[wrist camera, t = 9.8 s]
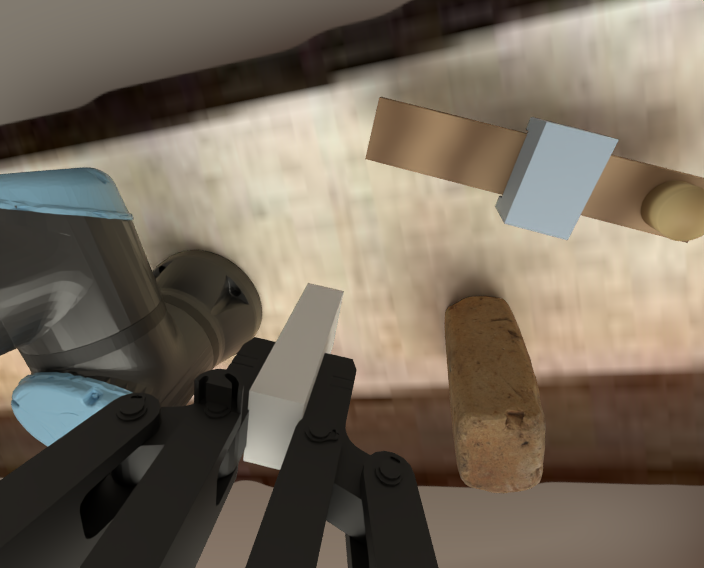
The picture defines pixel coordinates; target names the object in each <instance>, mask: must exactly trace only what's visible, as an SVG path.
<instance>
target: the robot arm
mask: <svg viewBox="0 0 704 568" xmlns="http://www.w3.org/2000/svg"><path fill="white" fill-rule="evenodd" d="M132 220H133V216H132V214H130V213H129V212H128V210H127V208H126V206H125V204H124V202H123V199H122V197H121V195H120V193H119V191H118V189H117V187H116V184H115V183H114V181H113V180H112V179H111V177H110V176H108V175H107V174H106V173H104V172H102V171H100V170H98V169H95V168H71V169H58V170H46V171H33V172H21V173H10V174H0V355H3V354H5V353H7V352H9V351H12V350H14V349H16V348H17V349H18V350H19V352H20V353H21V355H22V357H23V358H24V360H25V362H26V364H27V365H28V367H29V369H30V371H31V375H28V376H26V377H24V378H23V379H21V381H20V382H19V385H18V386H17V387H16V388H15V390H14V391H13V394H12V401H11V405H12V409H13V412H14V414H15V416H16V418H17V419H18V421H19V422H20V423H21V424H22V425H23V427H24V428H25V429H26V430H27V431H28V432H29V433H30V434H31V435H33V436H34V437H35V438H36V439H38V440H39V441H41V442H42V443H43V444H45V445H46V446H48V447H47V448H45V449H44V450H42V451H41V452H40V453H38V454H37V455H35V456H34V457H33V458H31V459H30V460H28V461H27V462H26V463H24V464H23V465H21V466H20V467H18V468H17V469H16V470H14V471H13V472H11V473H10V474H9V475H7V476H6V477H4V478H3V479H2V480H0V568H79V567H80V568H195V567H196V564H197V562H198V560H199V558H200V556H201V553H202V551H203V549H204V547H205V545H206V542H207V540H208V538H209V536H210V534H211V531H212V529H213V527H214V525H215V523H216V520H217V518H218V516H219V514H220V512H221V510H222V507H223V505H224V503H225V501H226V499H227V496H228V494H229V492H230V490H231V488H232V485H233V483H234V481H235V479H236V475H237V471H238V462H239V460H240V458H241V456H242V454H243V452H244V460H243V461H247V462H251V463H255V464H259V465H263V466H267V467H271V468H275V469H279V470H280V472H279V475H278V477H277V480H276V483H275V486H274V489H273V492H272V494H271V497H270V500H269V503H268V506H267V508H266V511H265V514H264V517H263V520H262V522H261V525H260V528H259V531H258V534H257V537H256V539H255V542H254V545H253V548H252V551H251V554H250V556H249V559H248V562H247V565H246V567H245V568H316V566H317V561H318V556H319V551H320V546H321V542H322V537H323V532H324V527H325V522H326V520H327V521H328V522H329V523H331V524H332V525H334V526H336V527H337V528H338V529H340V530H341V531H343V532H345V534H346V535H345V536H346V550H347V562H348V568H438V564H437V560H436V557H435V553H434V549H433V545H432V541H431V537H430V533H429V529H428V525H427V522H426V518H425V514H424V510H423V506H422V502H421V499H420V495H419V491H418V487H417V483H416V479H415V475H414V473H413V470H412V468H411V466H410V465H409V464H408V463H407V461H406V460H405V459H404V458H402V457H401V456H399V455H397V454H395V453H392V452H387V451H381V452H375V453H374V454H372V455H369V454H367V453H365V452H364V451H362V450H360V449H359V448H357V447H356V446H355V445H354V444H353V443H352V442H351V441H350V439H349V438H348V436H347V433H346V430H345V425H346V419H347V414H348V409H349V404H350V399H351V395H352V390H353V385H354V380H355V375H356V367H355V364H354V362H353V359H349V358H345V357H341V356H337V355H332V354H331V351H332V347H333V344H334V339H335V333H336V328H337V323H338V318H339V313H340V308H341V303H342V298H343V293H344V291H341V290H336V289H332V288H327V287H323V286H319V285H314V284H310V283H308V284H307V286H306V288H305V290H304V292H303V293H302V295H301V297H300V299H299V301H298V303H297V304H296V306H295V308H294V310H293V312H292V314H291V315H290V317H289V319H288V321H287V323H286V325H285V326H284V328H283V330H282V332H281V334H280V336H279V337H278V339H277V341H276V342H273V341H269V340H265V339H260V338H256V337H254V336H255V335H256V333H257V331H258V329H259V327H260V324H261V319H262V307H261V302H260V298H259V295H258V293H257V291H256V289H255V287H254V285H253V284H252V282H251V281H250V279H249V278H248V277H247V276H246V274H245V273H244V272H243V271H242V270H241V269H239V268H238V267H237V266H236V265H235V264H233V263H232V262H230V261H229V260H227V259H225V258H223V257H221V256H219V255H217V254H214V253H211V252H207V251H200V250H189V251H183V252H180V253H177V254H175V255H173V256H171V257H170V258H168V259H167V260H165V261H164V262H162V263H161V264H159V265H158V266H157V267H156V268H155V269H154V270H153V272H152V270H151V267H150V265H149V262H148V260H147V257H146V255H145V252H144V250H143V247H142V245H141V242H140V240H139V237H138V234H137V232H136V229H135V227H134V224H133V221H132ZM253 337H254V338H253ZM236 354H237V355H236ZM233 355H236V356H235V357H234V359H233V360H232V363H230V365H229V366H228V368H227V369H215V370H212V369H213V368H214V367H215V366H216V365H218V364H220V363H221V362H223V361H225V360H226V359H228V358H230V357H231V356H233ZM193 395H194V404H192V405H188V406H186V404H187V403H188V402H189V400H190V399H191V398H192V396H193Z"/></svg>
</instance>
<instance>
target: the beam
mask: <svg viewBox="0 0 704 568" xmlns="http://www.w3.org/2000/svg"><path fill="white" fill-rule="evenodd" d="M526 136H527V133H523V132H519V131H515V130H511V129H507V128H503V127H499V126H495V125H491V124H487V123H483V122H479V121H476V120H472V119H468V118H464V117H460V116H456V115H452V114H448V113H444V112H440V111H436V110H432V109H428V108H424V107H420V106H416V105H412V104H408V103H404V102H400V101H396V100H392V99H388V98H384V97H380V98H379V101H378V106H377V110H376V115H375V119H374V123H373V128H372V132H371V136H370V141H369V145H368V150H367V154H366V158H365V159H368V160H371V161H375V162H379V163H383V164H387V165H391V166H394V167H398V168H402V169H406V170H410V171H414V172H417V173H421V174H425V175H429V176H433V177H437V178H440V179H444V180H448V181H452V182H456V183H460V184H463V185H467V186H471V187H475V188H479V189H483V190H486V191H490V192H494V193H498V194H502V195H503V193H504V190H505V188H506V185H507V183H508V180H509V178H510V176H511V173H512V171H513V168H514V166H515V163H516V161H517V158H518V156H519V153H520V151H521V148H522V146H523V143H524V141H525V138H526ZM581 215H582V216H586V217H590V218H594V219H598V220H602V221H605V222H609V223H613V224H617V225H621V226H625V227H628V228H632V229H636V230H640V231H644V232H648V233H651V234H655V235H659V236H663V237H667V238H669V239H672V240H676V241H682V242H686V243H688V241H689V240H693V239H696V238H698V237H701V236H702V235H704V178H702V177H698V176H694V175H690V174H686V173H682V172H678V171H674V170H670V169H667V168H663V167H659V166H655V165H651V164H647V163H643V162H639V161H635V160H631V159H627V158H623V157H619V156H615V155H611V156H610V158H609V160H608V162H607V164H606V166H605V168H604V170H603V172H602V174H601V176H600V178H599V180H598V182H597V183H596V185H595V187H594V189H593V191H592V193H591V195H590V197H589V199H588V201H587V203H586V205H585V207H584V209H583V211H582V213H581Z"/></svg>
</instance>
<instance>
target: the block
mask: <svg viewBox="0 0 704 568" xmlns="http://www.w3.org/2000/svg"><path fill="white" fill-rule="evenodd" d="M445 340H446V354H447V367H448V380H449V392H450V406H451V417H452V428H453V436H454V444H455V452H456V459H457V466H458V470H459V474H460V476H461V479H462V480H463V481H464V483H465V484H467V485H468V486H469V487H473V488H476V489H482V490H486V491H489V492H493V493H507V492H517V491H523V490H527V489H530V488H532V487H534V486H535V485H537V484H538V483H539V482H540V479H541V476H542V472H543V459H544V450H545V428H546V424H545V418H544V413H543V411H542V407H541V403H540V397H539V389H538V385H537V381H536V376H535V375H534V372H533V368H532V364H531V360H530V357H529V354H528V352H527V349H526V346H525V343H524V340H523V338H522V335H521V332H520V329H519V327H518V325H517V322H516V320H515V318H514V315H513V313H512V311H511V309H510V307H509V305H508V304H507V302H506V301H505V300H504V299H501V298H496V297H488V296H475V297H467V298H465V299H462V300H461V301H460V302H458V303H456V304H454V305H452V306H450V307H448V309H447V310H446V312H445Z"/></svg>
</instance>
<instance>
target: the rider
mask: <svg viewBox="0 0 704 568" xmlns="http://www.w3.org/2000/svg"><path fill="white" fill-rule="evenodd" d="M526 130H528V133H527V136H526V138H525V141H524V143H523V146H522V148H521V151H520V153H519V156H518V158H517V161H516V163H515V166H514V168H513V171H512V173H511V176H510V178H509V180H508V183H507V185H506V188H505V190H504V193H503V195H502V196H499V198H498V201H497V203H496V206H495V207H496V209H497V211H498V213H499V215H500V216H501V218H502V220H503V222H504V224H508V225H512V226H516V227H520V228H523V229H527V230H531V231H535V232H538V233H542V234H546V235H550V236H554V237H557V238H561V239H565V240H568V239H569V237H570V235H571V233H572V231H573V229H574V227H575V225H576V223H577V221H578V219H579V217H580V215H581V213H582V211H583V209H584V207H585V205H586V203H587V201H588V199H589V197H590V195H591V193H592V191H593V189H594V187H595V185H596V183H597V182H598V180H599V178H600V176H601V174H602V172H603V170H604V168H605V166H606V164H607V162H608V160H609V158H610V156H611V154H612V152H613V150H614V148H615V146H616V144H617V142H618V139H615V138H611V137H608V136H604V135H601V134H597V133H594V132H590V131H586V130H582V129H578V128H574V127H570V126H566V125H562V124H558V123H554V122H550V121H546V120H542V119H538V118H534V117H531V118H530V121H529V123H528V126H527V128H526Z"/></svg>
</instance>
